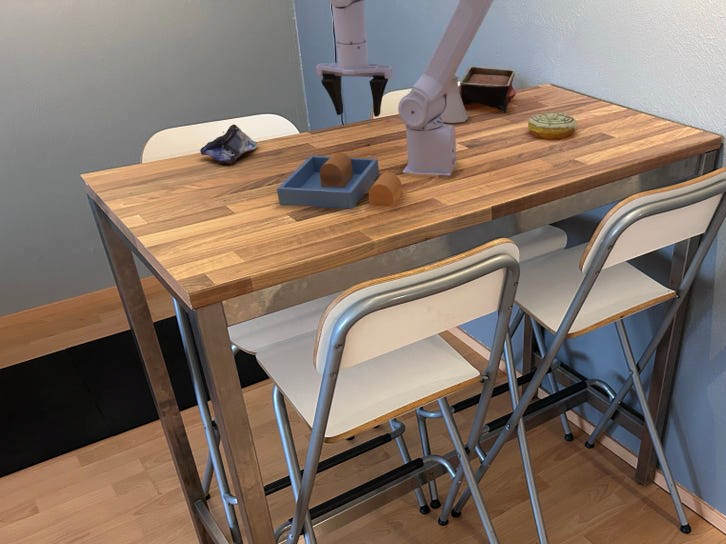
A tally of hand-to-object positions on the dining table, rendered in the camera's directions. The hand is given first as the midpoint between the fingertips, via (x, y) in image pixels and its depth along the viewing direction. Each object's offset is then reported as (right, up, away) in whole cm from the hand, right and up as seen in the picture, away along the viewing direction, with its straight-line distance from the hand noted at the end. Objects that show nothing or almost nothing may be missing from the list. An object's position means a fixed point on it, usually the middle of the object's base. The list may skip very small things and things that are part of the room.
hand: (358, 114), depth 147 cm
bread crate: (-4, -17, -8) cm, 19 cm away
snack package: (-28, -6, +8) cm, 29 cm away
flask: (+18, +8, +28) cm, 34 cm away
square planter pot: (+26, +15, +38) cm, 48 cm away
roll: (-3, -15, -6) cm, 16 cm away
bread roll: (+7, -20, -13) cm, 25 cm away
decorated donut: (+40, +2, +19) cm, 45 cm away
